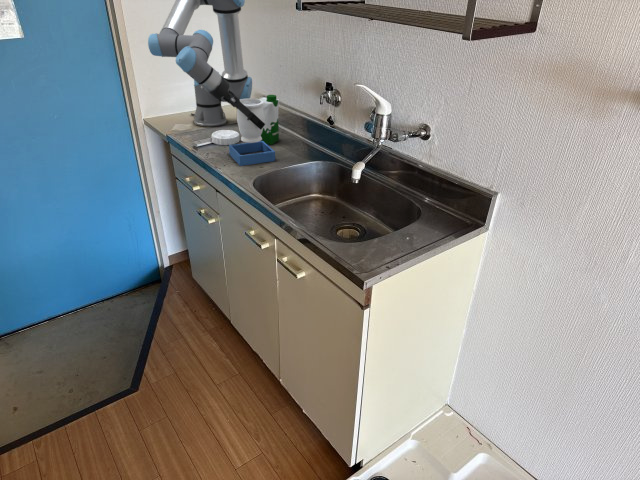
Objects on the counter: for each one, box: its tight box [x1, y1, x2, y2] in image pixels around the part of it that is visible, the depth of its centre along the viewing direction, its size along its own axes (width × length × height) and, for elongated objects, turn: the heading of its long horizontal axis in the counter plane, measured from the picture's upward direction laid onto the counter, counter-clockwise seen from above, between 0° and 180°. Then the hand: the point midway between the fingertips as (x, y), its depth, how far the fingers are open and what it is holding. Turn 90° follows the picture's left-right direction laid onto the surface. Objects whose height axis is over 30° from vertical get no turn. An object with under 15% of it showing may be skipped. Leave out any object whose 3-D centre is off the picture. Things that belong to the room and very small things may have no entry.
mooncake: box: [210, 129, 241, 146], centre depth 205 cm, size 12×12×4 cm
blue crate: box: [228, 141, 276, 167], centre depth 189 cm, size 14×15×4 cm
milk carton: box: [259, 94, 280, 146], centre depth 203 cm, size 9×9×20 cm
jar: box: [236, 97, 264, 143], centre depth 182 cm, size 11×10×15 cm
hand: (257, 122), depth 184 cm, fingers closed on jar, 10 cm apart
